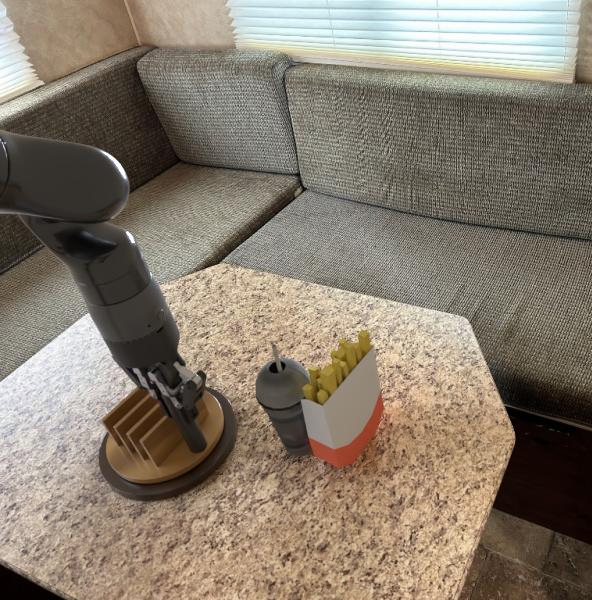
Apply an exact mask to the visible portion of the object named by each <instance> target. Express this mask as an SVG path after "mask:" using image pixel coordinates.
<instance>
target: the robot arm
mask: <svg viewBox="0 0 592 600" xmlns="http://www.w3.org/2000/svg"><path fill="white" fill-rule="evenodd" d="M128 177H129V176H128V175H127V173H126V171H125V169H124V167H123V166H122V164H121V163H120V162H119V160H117V159H116V158H115V157H114V156H113V155H112V154H110V153H109V152H107V151H105V150H103V149H101V148H99V147H96V146H93V145H88V144H83V143H77V142H72V141H71V142H70V141H67V140H66V141H65V140H60V139H53V138H47V137H46V138H45V137H40V136H39V137H38V136H32V135H24V134H19V133H14V132H10V131H7V130H3V129H0V215H9V214H11V215H17V216H18V218H19V219H20V220H21V221H22V222H23V224H24V225H25V226H26V227H27V228H28V229H29V231H30V232H32V234H33V235H34V236H35V237H36V238H37V239H38V240H39V242H41V243H42V245H44V247H46V248H47V250H48V251H49V252H50V253H51V254H52V255H54V257H56V259H58V260H59V261H60V262H61V263H62V264H63V266H65V267H66V269H67V271H69V274H70V277H71V278H72V281H73V282H74V284H75V286H76V287H77V289H78V291H79V293H80V295H81V296H82V298H83V300H84V302H85V305H86V308H87V311H88V313H89V315H90V318H91V320H92V321H93V323H94V325H95V327H96V328H97V330H98V332H99V334H100V336H101V338H102V340H103V341H104V343H105V345H106V347H107V349H108V350H109V352H110V354H111V358H112V360H113V361H114V363H116V364H117V366H119V368H120V369H121V370H122V371H123V372H124V373H125V375H127V376H128V378H129V379H130V380H131V381H132V382H133V383H134V384H135V386H136V388H137V387H138V388H139V389H140V390H142V391H146V390H148V391H149V393H150V395H151V397H152V398H154V399H157V401H158V403H159V405H160V407H161V409H162V411H163V412H164V414H165V416H167V417H169V418H172V415H171V413H170V411H169V409H168V407H167V405H166V403H165V402H164V400H163V398H162V396H161V392H162V394H163V395H164V396H167V397H169V398H170V399H171V401H172V403H173V404H174V406H175V409H176V411H177V413H178V415H179V417H180V419H181V420H182V422H183V424H185V425H188V426H189V425H191V424H192V422H193V421H194V420H195V419H196V418H197V417H198V416H199V412H198V409H197V407H196V405H195V404H196V403H197V402H198V401H199V400H200V399H201V398H202V397H203V396H204V391H205V386H206V385H207V377H208V375H207V373H206V372H204V371H203V370H202V369H198V370H197V371H196V372H193V370H190V369H189V368H188V367H187V362H186V360H185V359H184V358H183V357H182V355H181V354H180V353H179V352H178V350H179V344H180V340H181V332H180V330H179V327H178V325H177V322H176V320H175V318H174V316H173V314H172V311H171V309H170V307H169V305H168V302H167V300H166V298H165V296H164V293H163V291H162V289H161V287H160V285H159V283H158V282H157V280H156V279H155V278H154V276H153V274H152V272H151V271H150V268H149V266H148V263H147V261H146V259H145V256H144V255H143V252H142V251H141V248H140V245H139V244H138V241H137V240H136V238H135V236H133V234H132V233H131V232H130V231H128V230H127V228H124V227H121V226H119V225H116V224H113V223H111V222H109V221H111V220H113V219H115V218H116V217H117V216H118V215H119V214H121V212H122V211H123V210H124V209H125V207H126V206H127V203H128V200H129V196H130V191H131V189H130V187H131V186H130V181H129V178H128ZM181 389H183V392H182V393H181V394H180V395H179V396H178V392H179V391H180V390H181Z"/></svg>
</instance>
